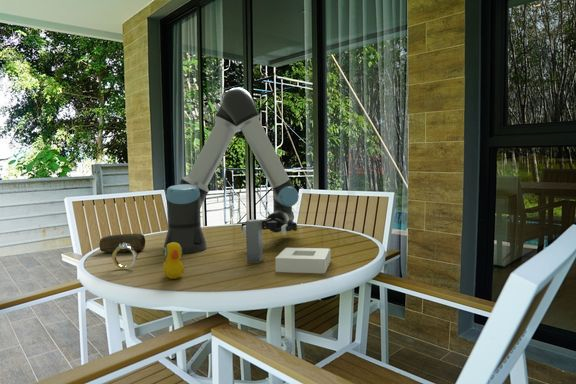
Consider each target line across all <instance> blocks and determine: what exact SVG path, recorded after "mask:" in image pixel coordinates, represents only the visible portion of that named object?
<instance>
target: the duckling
mask: <svg viewBox="0 0 576 384" xmlns="http://www.w3.org/2000/svg"><path fill="white" fill-rule="evenodd" d="M182 254H183V253H182V248H181V246H180V244H178V243H176V242H172V243H169V244H167V245H166V247H165V252H164V257H165V261H163V266H162V267H163V269H162V271H163V275H164V276H166V277H167V278H168V279H170V280H176V279H179V278H181V276H182V275H183V274H184V273H185V266H184V264H183V263H182V261H181V258H182Z"/></svg>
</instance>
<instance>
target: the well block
mask: <svg viewBox="0 0 576 384" xmlns="http://www.w3.org/2000/svg"><path fill="white" fill-rule="evenodd" d="M274 262H275V273H298V274H299V273H301V274H326V272H327V269H328V268H329V265H330V264H331V248H324V247H323V248H319V247H316V248H315V247H314V248H313V247H312V248H311V247H285V248H284V249H283V250H282V251H281V252H280V253H279V254H278V255H277V256H275V261H274ZM329 263H330V264H329Z"/></svg>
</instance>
